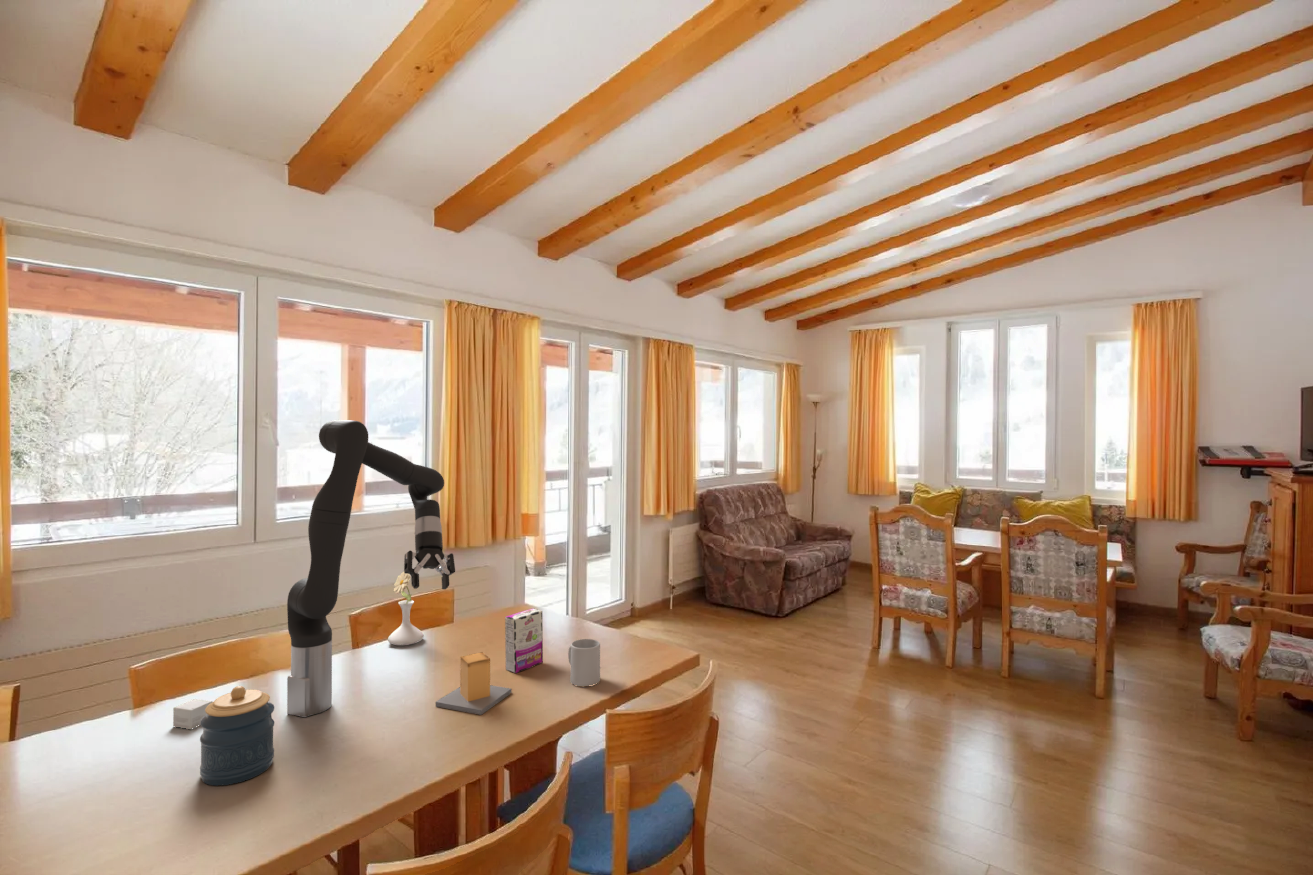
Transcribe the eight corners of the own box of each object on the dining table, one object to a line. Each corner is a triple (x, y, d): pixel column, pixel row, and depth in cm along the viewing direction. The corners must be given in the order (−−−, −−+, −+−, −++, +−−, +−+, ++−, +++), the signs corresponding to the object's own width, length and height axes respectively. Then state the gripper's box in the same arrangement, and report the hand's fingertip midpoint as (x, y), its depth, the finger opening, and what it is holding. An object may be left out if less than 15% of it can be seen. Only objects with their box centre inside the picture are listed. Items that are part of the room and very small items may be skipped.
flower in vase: (387, 639, 212) (387, 567, 211) (422, 635, 216) (423, 564, 216) (388, 652, 200) (388, 575, 199) (425, 647, 204) (426, 572, 204)
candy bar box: (532, 659, 194) (532, 607, 194) (543, 662, 191) (543, 610, 191) (504, 669, 186) (504, 615, 185) (514, 674, 183) (515, 618, 182)
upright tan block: (489, 695, 164) (490, 658, 164) (467, 701, 161) (468, 663, 161) (481, 688, 169) (482, 652, 169) (460, 693, 166) (460, 656, 166)
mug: (606, 681, 177) (606, 643, 177) (582, 690, 172) (582, 650, 171) (580, 669, 186) (581, 633, 186) (557, 677, 180) (557, 640, 180)
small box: (213, 720, 152) (213, 700, 152) (190, 730, 147) (190, 710, 147) (195, 717, 154) (195, 697, 154) (172, 727, 148) (172, 707, 148)
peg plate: (481, 714, 156) (481, 690, 156) (435, 706, 161) (435, 682, 161) (511, 692, 169) (511, 670, 169) (468, 685, 174) (468, 663, 174)
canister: (261, 747, 139) (261, 669, 139) (283, 767, 131) (284, 685, 131) (191, 771, 129) (191, 687, 129) (210, 795, 121) (211, 705, 121)
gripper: (410, 527, 174) (412, 583, 167) (457, 531, 184) (460, 584, 177) (399, 537, 179) (400, 592, 171) (444, 541, 189) (448, 593, 181)
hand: (431, 588), depth 174 cm, fingers open, 8 cm apart
